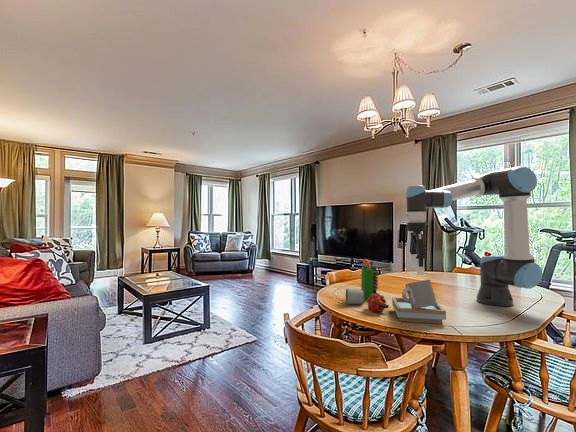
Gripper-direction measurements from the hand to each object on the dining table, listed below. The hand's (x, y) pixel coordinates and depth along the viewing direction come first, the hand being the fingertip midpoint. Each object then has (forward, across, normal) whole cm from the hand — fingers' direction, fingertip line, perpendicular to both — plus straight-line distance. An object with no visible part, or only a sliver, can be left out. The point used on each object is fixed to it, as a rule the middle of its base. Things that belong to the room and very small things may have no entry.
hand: (417, 271), depth 133 cm
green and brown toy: (+19, -29, -18) cm, 39 cm away
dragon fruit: (+19, -5, -16) cm, 26 cm away
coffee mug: (+14, +6, 0) cm, 15 cm away
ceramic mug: (+19, -16, -27) cm, 37 cm away
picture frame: (+19, 0, 0) cm, 19 cm away
